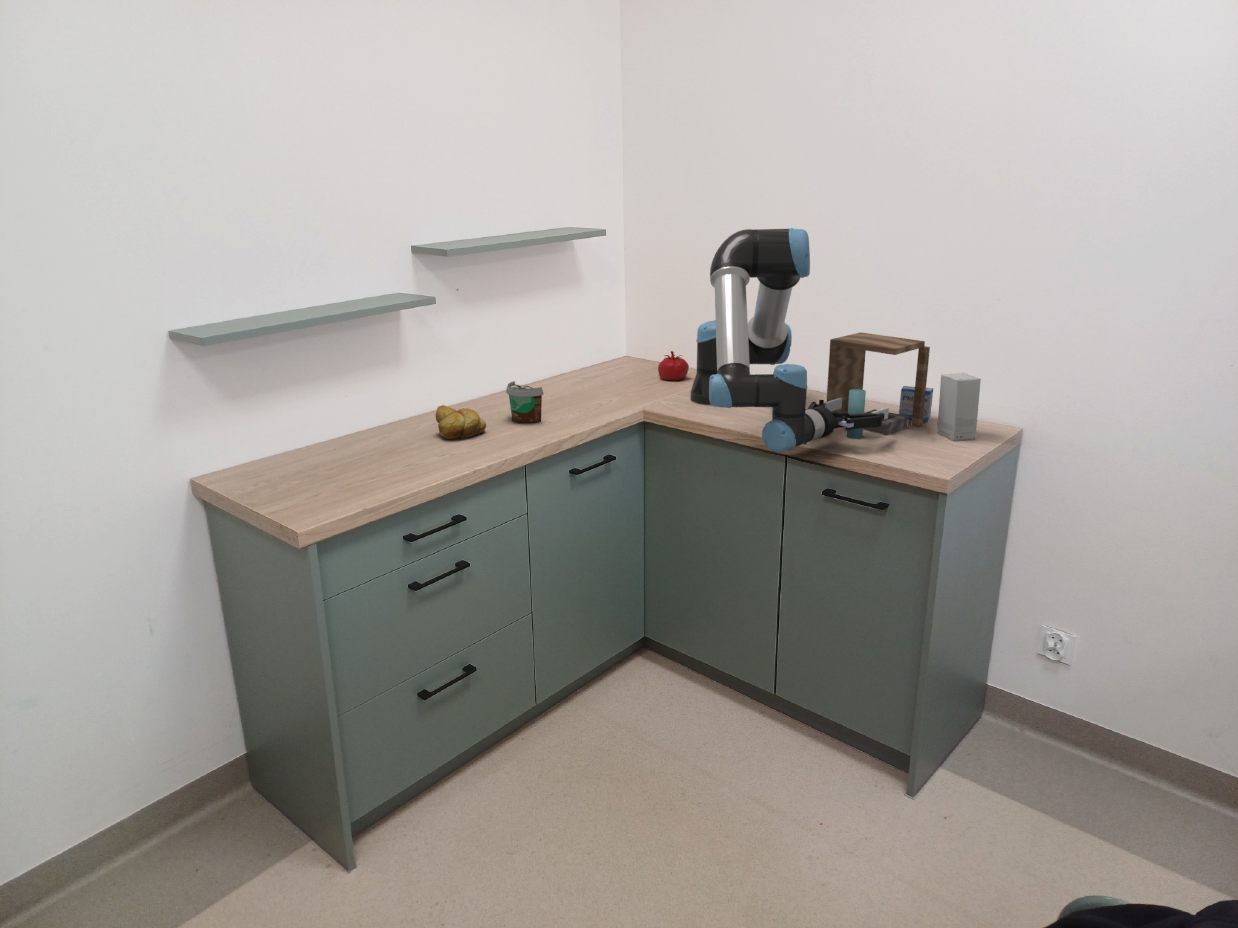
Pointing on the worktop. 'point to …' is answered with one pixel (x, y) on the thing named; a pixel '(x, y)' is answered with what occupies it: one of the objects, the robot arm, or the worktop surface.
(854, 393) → the peg
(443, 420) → the bread roll
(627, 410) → the worktop surface
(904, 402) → the medicine box
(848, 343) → the wooden table arch
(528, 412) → the food container
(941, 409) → the skincare box
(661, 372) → the red tomato
